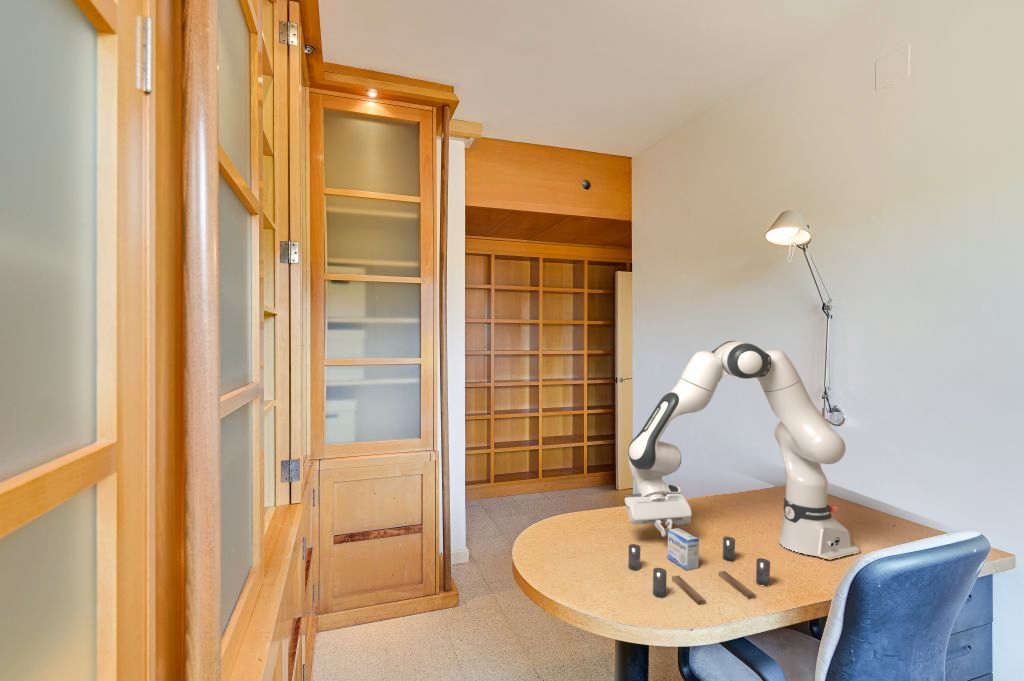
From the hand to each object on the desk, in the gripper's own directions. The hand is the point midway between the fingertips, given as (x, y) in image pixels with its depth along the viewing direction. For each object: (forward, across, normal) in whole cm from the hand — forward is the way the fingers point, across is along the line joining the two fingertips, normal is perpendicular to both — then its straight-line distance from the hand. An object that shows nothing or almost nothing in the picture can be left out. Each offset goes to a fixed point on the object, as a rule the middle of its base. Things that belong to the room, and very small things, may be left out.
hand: (667, 535), depth 147 cm
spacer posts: (+14, 0, -8) cm, 16 cm away
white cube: (-11, +16, +18) cm, 26 cm away
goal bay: (+19, 0, -13) cm, 23 cm away
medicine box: (+9, 0, -3) cm, 10 cm away
